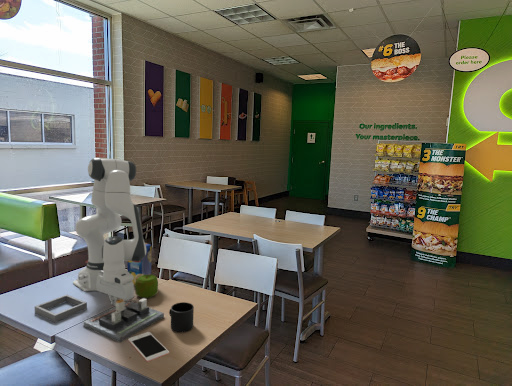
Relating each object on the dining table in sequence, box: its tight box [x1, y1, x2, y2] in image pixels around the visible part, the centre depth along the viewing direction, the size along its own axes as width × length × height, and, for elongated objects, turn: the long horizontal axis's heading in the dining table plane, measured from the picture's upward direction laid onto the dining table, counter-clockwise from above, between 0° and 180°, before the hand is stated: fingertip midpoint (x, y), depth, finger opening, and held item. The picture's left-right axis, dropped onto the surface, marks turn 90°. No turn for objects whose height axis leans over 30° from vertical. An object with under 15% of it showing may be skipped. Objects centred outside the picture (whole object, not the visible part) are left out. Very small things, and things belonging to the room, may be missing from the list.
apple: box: [134, 274, 159, 299], centre depth 178 cm, size 11×11×11 cm
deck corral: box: [34, 294, 88, 323], centre depth 158 cm, size 15×15×3 cm
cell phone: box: [127, 331, 170, 363], centre depth 134 cm, size 9×18×1 cm, turn 41°
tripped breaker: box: [115, 299, 126, 311], centre depth 152 cm, size 2×3×5 cm, turn 151°
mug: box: [168, 301, 195, 334], centre depth 149 cm, size 9×12×9 cm
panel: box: [83, 298, 165, 343], centre depth 151 cm, size 22×24×8 cm
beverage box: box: [126, 242, 152, 286], centre depth 192 cm, size 7×11×22 cm, turn 61°
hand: (114, 304), depth 154 cm, fingers closed
